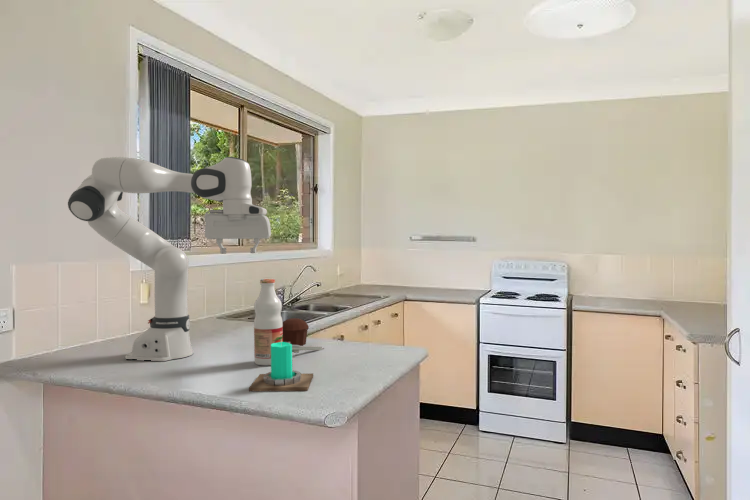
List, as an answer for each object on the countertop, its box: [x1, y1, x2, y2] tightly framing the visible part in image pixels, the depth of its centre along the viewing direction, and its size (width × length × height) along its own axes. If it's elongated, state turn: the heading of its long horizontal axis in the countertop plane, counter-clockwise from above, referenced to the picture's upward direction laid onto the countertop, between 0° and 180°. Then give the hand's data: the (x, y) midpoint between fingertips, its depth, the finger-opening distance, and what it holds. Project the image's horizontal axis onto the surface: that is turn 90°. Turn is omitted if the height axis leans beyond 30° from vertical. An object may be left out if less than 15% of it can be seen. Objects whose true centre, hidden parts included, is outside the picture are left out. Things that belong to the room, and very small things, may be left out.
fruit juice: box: [253, 278, 284, 367], centre depth 175 cm, size 9×9×28 cm
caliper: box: [286, 342, 325, 354], centre depth 188 cm, size 20×1×6 cm, turn 145°
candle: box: [270, 339, 293, 379], centre depth 150 cm, size 6×6×12 cm
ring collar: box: [264, 369, 302, 386], centre depth 150 cm, size 10×10×2 cm
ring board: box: [248, 373, 314, 392], centre depth 150 cm, size 16×14×1 cm
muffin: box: [282, 317, 310, 346], centre depth 204 cm, size 12×11×10 cm
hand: (238, 253), depth 164 cm, fingers open, 8 cm apart
